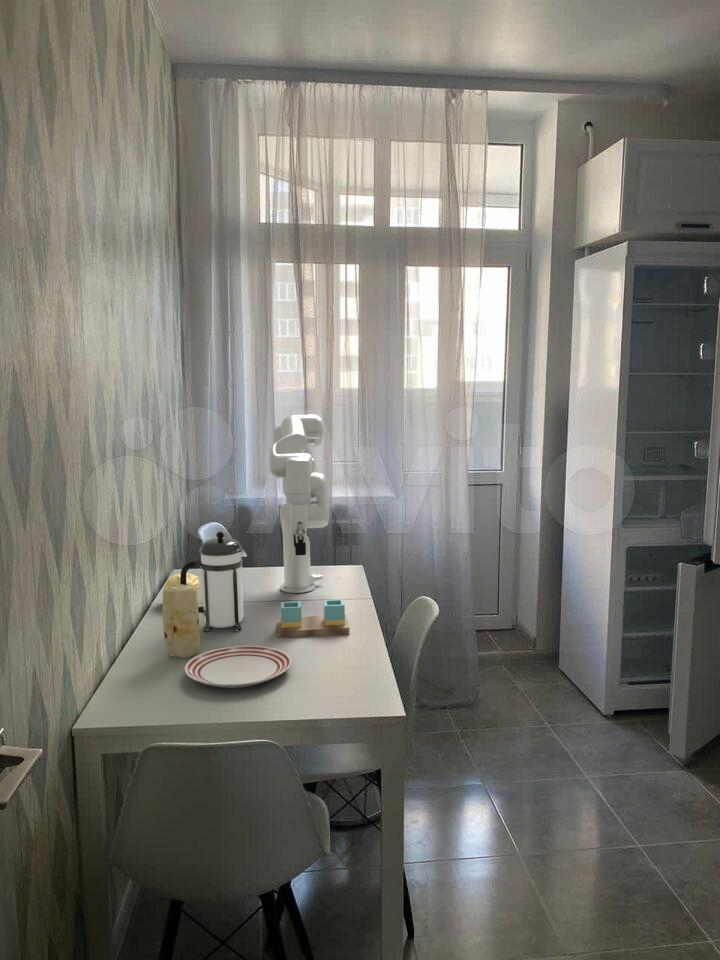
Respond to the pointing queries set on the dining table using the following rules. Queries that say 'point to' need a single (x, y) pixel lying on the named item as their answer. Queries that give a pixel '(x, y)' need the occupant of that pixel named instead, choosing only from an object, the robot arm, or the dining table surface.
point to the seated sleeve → (291, 614)
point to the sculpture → (190, 579)
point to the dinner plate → (238, 666)
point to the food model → (181, 620)
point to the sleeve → (334, 612)
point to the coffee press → (220, 582)
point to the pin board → (312, 628)
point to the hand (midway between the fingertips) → (299, 550)
